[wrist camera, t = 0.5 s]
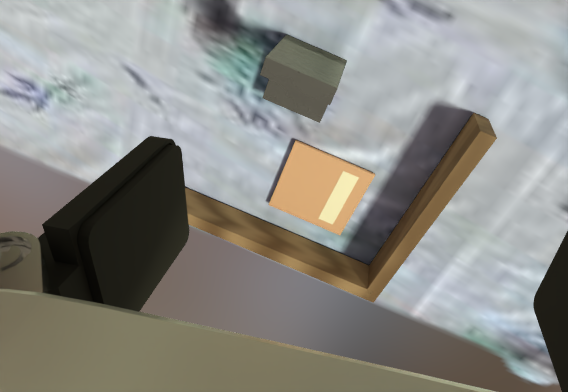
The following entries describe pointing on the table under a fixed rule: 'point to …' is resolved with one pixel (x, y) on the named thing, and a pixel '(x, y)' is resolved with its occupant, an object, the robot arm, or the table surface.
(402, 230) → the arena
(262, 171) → the table surface
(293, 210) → the pad
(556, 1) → the table surface
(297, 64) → the bracket
